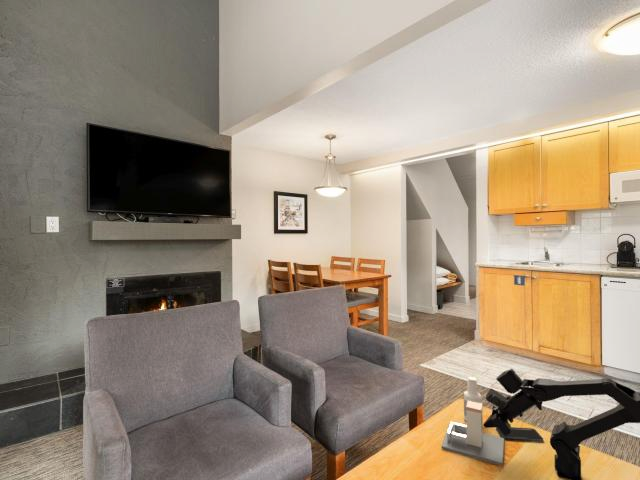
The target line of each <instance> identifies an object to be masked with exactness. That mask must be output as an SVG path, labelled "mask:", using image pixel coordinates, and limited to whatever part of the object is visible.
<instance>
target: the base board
mask: <svg viewBox="0 0 640 480" xmlns="http://www.w3.org/2000/svg"><path fill="white" fill-rule="evenodd" d="M449 426H450V424H448V427H447V429H446V433H445V436H444V438H443V441H442V444H441V449H442V450H444V451H448V452H453V453H455V454H458V455H463V456H466V457H469V458H473V459H477V460H480V461H483V462H486V463H490V464H494V465H498V466H500V467H503V466H504V448H505V440H504V438H501V437H500V436H496V435H492V434H488V433H485V432H483V441H482V447H477V446H473V445H470V444H467V445H466V447H465V446H461V445H457V444H454V443H452V438H451V441H450V442H447V432H448V429H449ZM453 432H455V425H454V431H453Z"/></svg>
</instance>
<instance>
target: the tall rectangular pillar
mask: <svg viewBox="0 0 640 480" xmlns="http://www.w3.org/2000/svg"><path fill="white" fill-rule="evenodd" d="M483 407H484V405H483V403H482V402H481V403H476V402H472V401H468V402H467V405H466V418H467V421H466V425H467V444H470V445H473V446H477V447H482V441H483V433H484V432H483V428H484V426H483V409H484V408H483Z"/></svg>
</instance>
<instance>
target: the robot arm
mask: <svg viewBox="0 0 640 480" xmlns="http://www.w3.org/2000/svg"><path fill="white" fill-rule="evenodd" d="M495 380H496V381H497V382H498V383H499V384H500V385H501V387H503V389H504V390H505V391H506V392H507V393H508V394H510V395H507V396H504V395H503V394H501V393H500V392H498V391H496V390H495V389H493V388H489V389H488V391H487V392H486V395H485V401H487V402H488V403H491V404H492V409H491V410H492V411H491V414H490V415H489V417H488V418H487V419H486V420H485V421H484V423H482V426H483V428H486V429H489V428H490V429H491V428H492V429H493V428H495V429H496V428H498V429H499V430H500V431H501V432H502V433H503V434H504V435H505V436H508V435H509V434H511V427H512V426H511V424H512V423H513V422H514V419H515V418H517V417H520V418H521V417H523V416H524V413H525V412H527V411H528V410H530V409H532V408H533V407H534V406H535V407H536V408H537V409H538V410H539V411H542V409H543V403H545V402H548V401H549V402H550V401H553V400H554V401H555V400H557V399H560V398H563V397H576V396H577V397H579V396H581V397H583V396H597V395H598V396H603V395H604V396H605V395H606V396H608V397H610V398H612V400H614V401H615V402H617V403H618V405H617V406H615V407H613V408H610V409H609V410H605V411H603V412H602V413H599V414H597V415H594V416H592V417H590V418H588V419H586V420H583V421H582V422H579V423H576V424H574V425H569V424H568V423H567V422H566V421H564V420H563V421H562V422H561V423H559V424H555V425H553V428H552V429H551V432H550V433H551V435H550V438H549V444H550V446H551V448H552V449H553V450H554V451H555V454H554V465H553V466H554V470H555V472H556V476H558V478H562V479H565V480H583V479H582V460H581V457H580V453H581V446H580V444H581V443H582V442H584V441H587V440H588V439H591V438H593V437H596V436H598V435H601V434H603V433H605V432H608V431H610V430H613V429H615V428H618V427H620V426H623V425H625V424H640V392H639V391H636V390H634V389H632V388H631V387H629V386H626V385H624V384H621V383H619V382H618V381H615V380H614V379H612V378H609V377H604V378H597V379H581V380H579V379H577V380H564V381H563V380H561V381H560V380H554V379H551V378H536V379H526V378H524V379H522V378H521V377H520V376H519V375H518V374H517V372H516V371H515V370H514V369H513V368H510V369H507V370H504V371H502V372H501V373H500V374H499V375H498V376H497V377H496V378H495ZM511 394H514V395H512V396H511Z"/></svg>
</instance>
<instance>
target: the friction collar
mask: <svg viewBox="0 0 640 480" xmlns="http://www.w3.org/2000/svg"><path fill="white" fill-rule="evenodd" d="M449 425H450V426H449ZM449 425H448V426H449V429H448V428H447V429H448V432H447V431H446V432H447V442H450V441H451V438H452V443H454V444H457V445H461V446H465V447H466V445H467V424H463V423H460V422H459V423H458V422H454V421H450V424H449ZM454 426H455V432H453V431H454Z"/></svg>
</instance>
